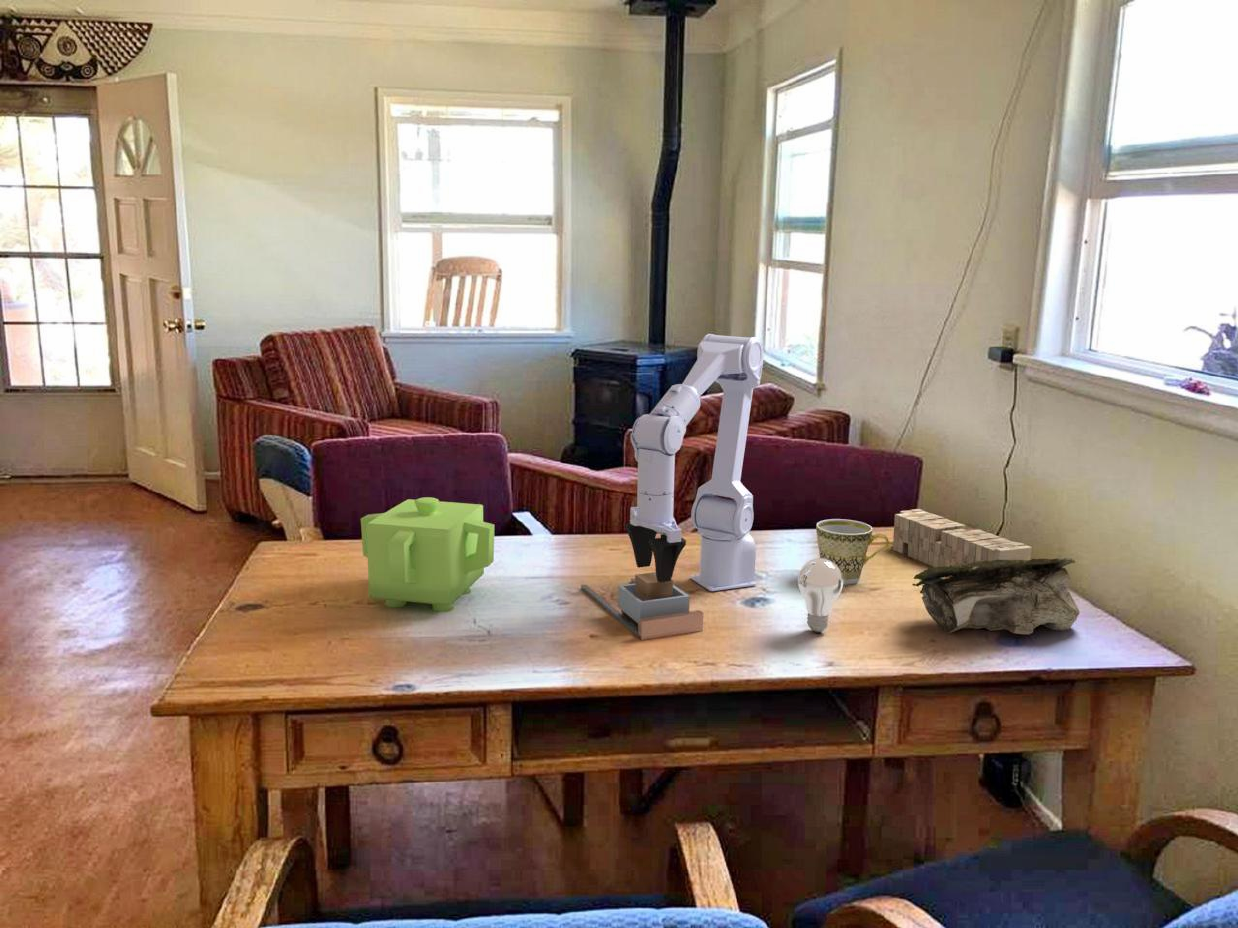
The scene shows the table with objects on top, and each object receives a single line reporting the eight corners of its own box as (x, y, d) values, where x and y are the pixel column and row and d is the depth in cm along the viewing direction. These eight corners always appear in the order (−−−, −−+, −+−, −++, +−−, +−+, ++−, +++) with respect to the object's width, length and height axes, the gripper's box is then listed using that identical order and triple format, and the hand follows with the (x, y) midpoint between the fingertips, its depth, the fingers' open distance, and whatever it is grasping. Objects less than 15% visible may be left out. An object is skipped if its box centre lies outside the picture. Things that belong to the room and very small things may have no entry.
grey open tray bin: (664, 605, 168) (665, 579, 167) (688, 623, 160) (689, 596, 159) (617, 612, 164) (618, 585, 163) (639, 630, 157) (640, 602, 156)
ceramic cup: (807, 583, 181) (811, 529, 179) (818, 567, 190) (822, 516, 188) (881, 593, 176) (885, 539, 174) (889, 577, 185) (893, 524, 183)
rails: (636, 581, 180) (636, 565, 180) (702, 630, 158) (703, 612, 157) (581, 588, 176) (581, 571, 176) (641, 640, 154) (641, 621, 153)
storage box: (397, 569, 185) (394, 478, 181) (515, 579, 180) (514, 486, 177) (332, 617, 161) (327, 513, 157) (466, 630, 156) (464, 524, 153)
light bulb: (813, 643, 154) (818, 568, 151) (785, 627, 160) (790, 555, 157) (849, 636, 157) (854, 562, 154) (820, 621, 163) (825, 550, 160)
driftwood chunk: (912, 661, 160) (948, 620, 147) (891, 588, 167) (923, 544, 154) (1074, 647, 164) (1122, 607, 152) (1047, 578, 171) (1090, 534, 159)
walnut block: (659, 600, 165) (660, 571, 164) (672, 609, 161) (673, 579, 160) (634, 604, 163) (635, 574, 162) (646, 613, 159) (647, 583, 158)
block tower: (887, 552, 204) (996, 594, 178) (889, 512, 202) (999, 547, 176) (917, 548, 207) (1028, 588, 181) (919, 508, 206) (1032, 542, 180)
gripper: (613, 482, 163) (612, 562, 166) (652, 504, 150) (650, 591, 153) (653, 479, 165) (651, 558, 168) (694, 500, 153) (691, 585, 156)
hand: (653, 573), depth 161 cm, fingers open, 7 cm apart
